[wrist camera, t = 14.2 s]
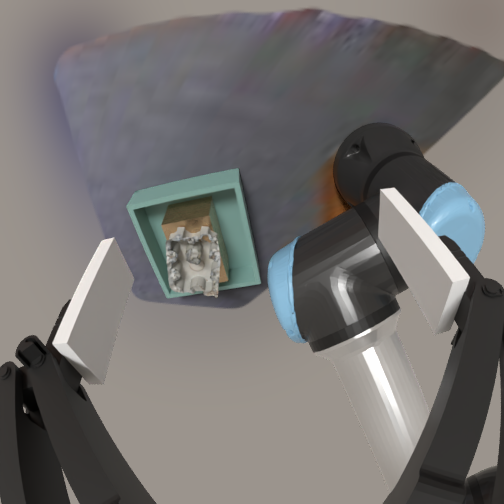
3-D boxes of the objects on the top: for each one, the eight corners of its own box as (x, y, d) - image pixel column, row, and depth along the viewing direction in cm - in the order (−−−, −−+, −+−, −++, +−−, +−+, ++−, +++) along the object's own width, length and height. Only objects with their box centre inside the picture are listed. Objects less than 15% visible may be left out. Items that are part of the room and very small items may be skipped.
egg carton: (219, 282, 50) (219, 301, 46) (172, 280, 49) (169, 299, 46) (221, 225, 43) (221, 242, 40) (168, 223, 43) (162, 239, 39)
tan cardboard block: (211, 195, 47) (209, 215, 42) (228, 257, 54) (228, 281, 49) (168, 205, 48) (161, 225, 43) (189, 264, 55) (186, 287, 50)
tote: (238, 168, 46) (239, 181, 42) (259, 265, 57) (261, 283, 52) (135, 191, 47) (126, 206, 43) (170, 279, 58) (167, 298, 54)
